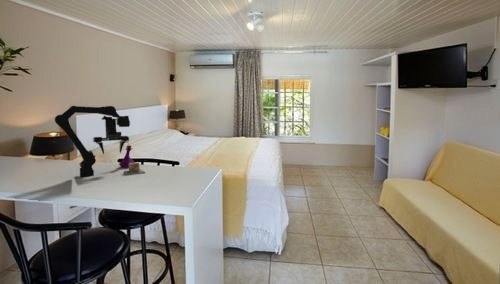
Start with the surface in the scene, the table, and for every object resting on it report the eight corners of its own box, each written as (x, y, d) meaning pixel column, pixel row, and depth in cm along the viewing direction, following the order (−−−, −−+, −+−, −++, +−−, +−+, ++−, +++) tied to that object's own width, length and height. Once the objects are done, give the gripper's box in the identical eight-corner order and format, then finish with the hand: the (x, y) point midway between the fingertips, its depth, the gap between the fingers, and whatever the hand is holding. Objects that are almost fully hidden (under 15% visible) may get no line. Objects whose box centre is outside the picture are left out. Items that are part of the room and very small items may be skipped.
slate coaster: (127, 175, 171) (127, 173, 171) (123, 172, 180) (123, 171, 180) (145, 173, 177) (145, 171, 177) (140, 170, 185) (140, 169, 185)
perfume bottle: (135, 167, 197) (134, 140, 196) (129, 169, 190) (128, 141, 188) (124, 167, 198) (123, 140, 197) (118, 169, 191) (117, 141, 189)
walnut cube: (130, 172, 175) (130, 164, 174) (128, 171, 179) (128, 163, 178) (139, 171, 178) (139, 163, 177) (137, 170, 182) (137, 162, 181)
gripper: (95, 128, 163) (96, 156, 164) (130, 127, 173) (131, 153, 175) (92, 127, 172) (93, 154, 173) (126, 126, 182) (127, 151, 184)
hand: (112, 153), depth 176 cm, fingers open, 9 cm apart
